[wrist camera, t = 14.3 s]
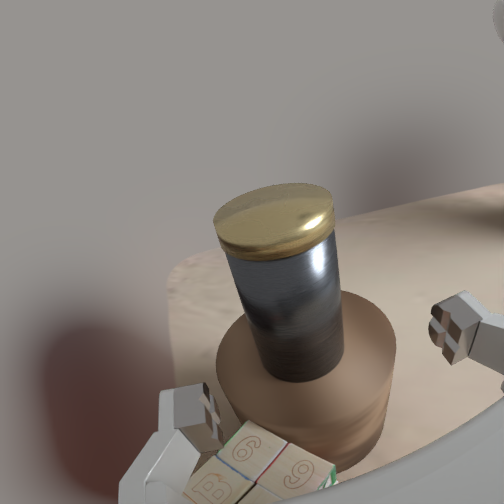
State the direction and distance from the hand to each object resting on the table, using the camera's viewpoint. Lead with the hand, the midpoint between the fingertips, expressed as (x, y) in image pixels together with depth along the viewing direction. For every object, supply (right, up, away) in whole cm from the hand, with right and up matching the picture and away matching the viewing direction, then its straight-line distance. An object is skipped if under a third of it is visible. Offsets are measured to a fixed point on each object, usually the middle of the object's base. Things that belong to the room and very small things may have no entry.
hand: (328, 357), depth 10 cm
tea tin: (+1, -3, +10) cm, 10 cm away
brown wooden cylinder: (+3, -11, +15) cm, 19 cm away
